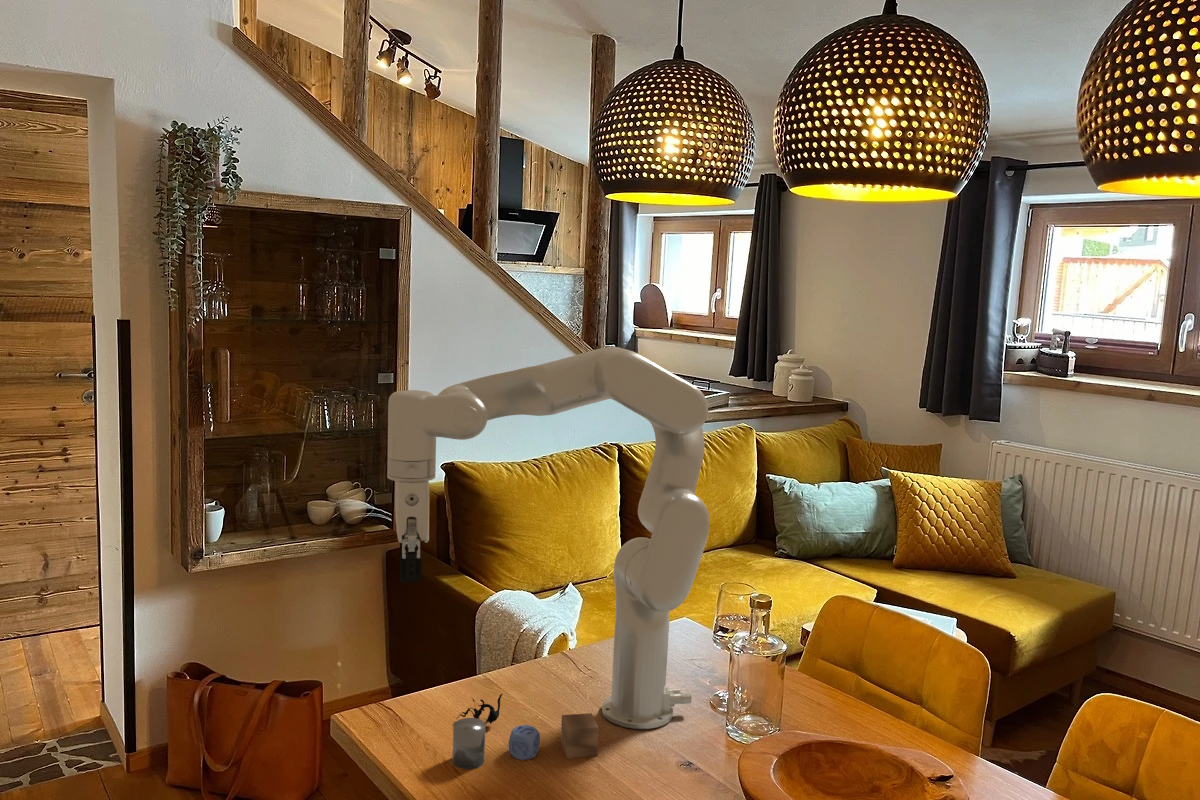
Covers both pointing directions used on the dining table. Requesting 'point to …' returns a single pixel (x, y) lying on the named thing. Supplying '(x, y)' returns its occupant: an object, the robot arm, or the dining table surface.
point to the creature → (492, 713)
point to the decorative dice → (524, 742)
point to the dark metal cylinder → (468, 743)
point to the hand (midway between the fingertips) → (409, 572)
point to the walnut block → (579, 735)
